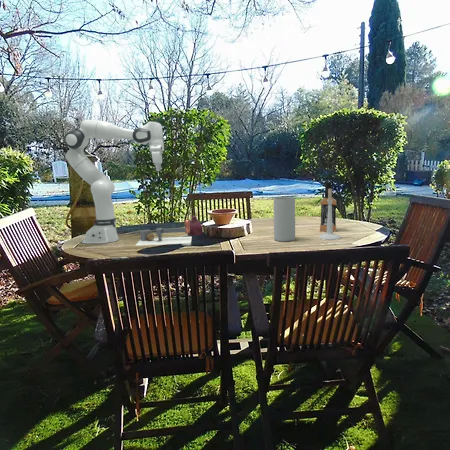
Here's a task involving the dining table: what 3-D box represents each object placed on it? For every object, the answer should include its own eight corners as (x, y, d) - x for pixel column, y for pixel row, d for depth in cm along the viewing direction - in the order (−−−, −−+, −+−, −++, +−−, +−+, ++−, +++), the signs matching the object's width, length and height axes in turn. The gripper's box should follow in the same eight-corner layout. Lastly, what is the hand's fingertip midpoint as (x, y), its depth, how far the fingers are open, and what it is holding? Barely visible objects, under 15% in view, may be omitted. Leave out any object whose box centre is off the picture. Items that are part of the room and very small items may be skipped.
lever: (155, 235, 235) (154, 222, 234) (156, 233, 242) (156, 220, 241) (189, 234, 236) (189, 221, 235) (190, 232, 243) (189, 219, 242)
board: (135, 247, 228) (134, 235, 227) (141, 240, 249) (140, 229, 247) (190, 245, 229) (190, 232, 228) (191, 238, 250) (191, 227, 249)
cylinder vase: (275, 242, 229) (274, 199, 226) (273, 238, 242) (272, 197, 238) (296, 241, 229) (296, 198, 225) (293, 237, 242) (293, 196, 238)
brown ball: (146, 241, 238) (146, 234, 238) (147, 240, 243) (147, 232, 242) (153, 241, 239) (153, 233, 238) (154, 239, 243) (154, 232, 242)
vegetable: (200, 240, 260) (200, 219, 253) (185, 238, 262) (185, 217, 255) (204, 233, 269) (205, 213, 263) (190, 231, 271) (190, 211, 265)
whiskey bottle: (336, 229, 264) (336, 181, 259) (336, 231, 255) (336, 182, 250) (320, 229, 267) (320, 181, 262) (319, 231, 257) (320, 182, 252)
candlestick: (334, 235, 243) (334, 186, 239) (344, 239, 231) (345, 188, 226) (315, 237, 241) (315, 187, 236) (324, 240, 228) (324, 189, 224)
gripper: (153, 149, 252) (155, 171, 254) (149, 148, 232) (151, 171, 234) (163, 148, 252) (165, 170, 255) (160, 147, 232) (162, 171, 234)
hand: (158, 171), depth 244 cm, fingers open, 8 cm apart
